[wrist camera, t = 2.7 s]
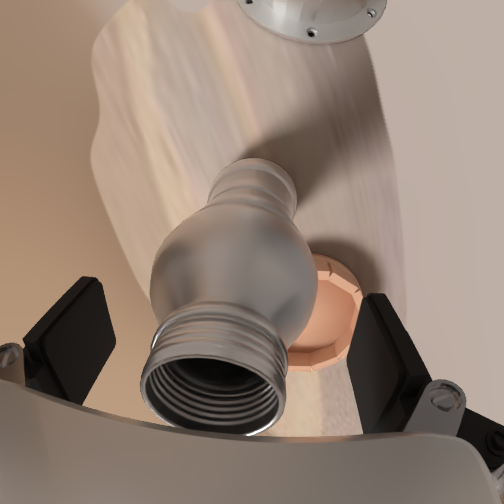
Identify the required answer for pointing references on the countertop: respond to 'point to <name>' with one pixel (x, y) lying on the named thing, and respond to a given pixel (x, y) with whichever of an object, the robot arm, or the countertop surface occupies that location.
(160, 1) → the countertop surface
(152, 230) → the countertop surface
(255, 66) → the countertop surface
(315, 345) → the round tray
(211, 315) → the plastic bottle
